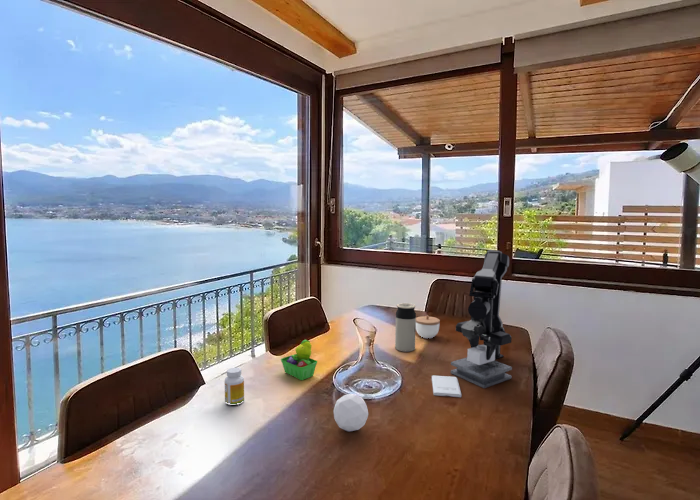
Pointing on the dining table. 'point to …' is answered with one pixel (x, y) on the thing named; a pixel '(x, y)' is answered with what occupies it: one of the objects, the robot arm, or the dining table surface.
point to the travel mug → (405, 327)
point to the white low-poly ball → (350, 412)
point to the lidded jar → (427, 326)
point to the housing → (479, 355)
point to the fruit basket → (300, 362)
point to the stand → (481, 372)
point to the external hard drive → (446, 386)
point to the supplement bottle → (234, 386)
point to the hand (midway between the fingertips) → (481, 357)
